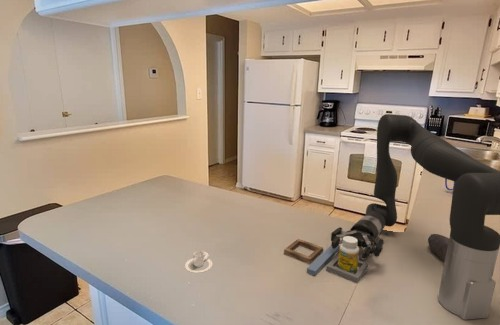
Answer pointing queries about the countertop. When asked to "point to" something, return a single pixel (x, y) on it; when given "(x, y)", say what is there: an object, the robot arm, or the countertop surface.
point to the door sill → (322, 260)
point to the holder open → (345, 274)
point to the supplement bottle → (348, 254)
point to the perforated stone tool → (438, 245)
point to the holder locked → (299, 256)
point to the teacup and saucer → (199, 261)
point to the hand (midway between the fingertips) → (347, 250)
